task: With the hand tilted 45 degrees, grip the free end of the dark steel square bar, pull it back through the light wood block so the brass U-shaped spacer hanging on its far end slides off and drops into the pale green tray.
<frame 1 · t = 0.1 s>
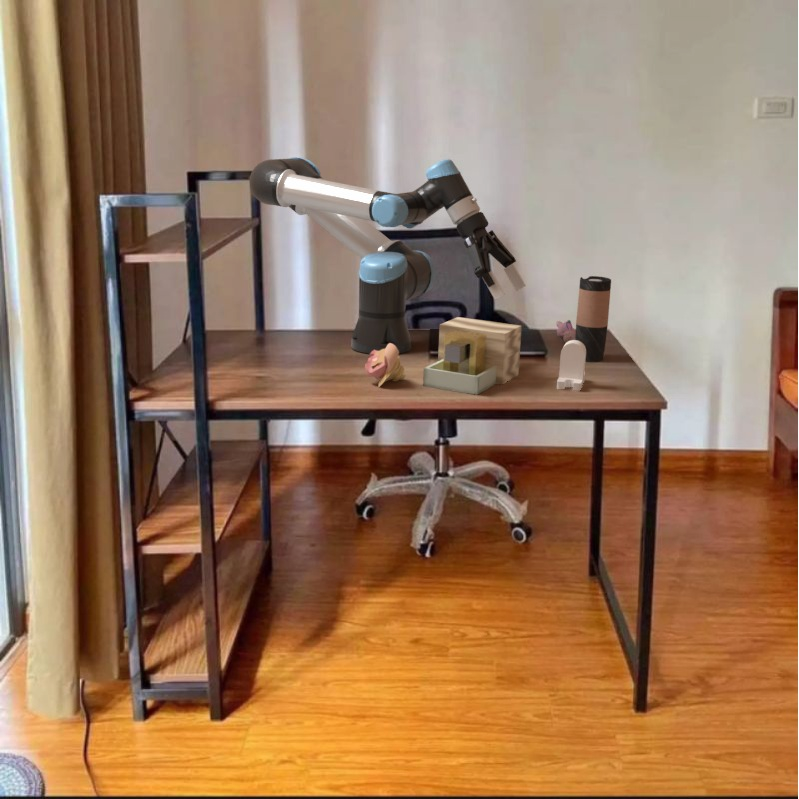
hand: (510, 292, 252), 15 cm above the table, tool tilted 35°, fingers open, 13 cm apart
travel mug: (588, 359, 253), on the table
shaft: (478, 341, 232), point 8 cm above the table, slide at 0.0 cm, touching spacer
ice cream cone: (383, 383, 226), on the table
rabbit figure: (566, 339, 274), on the table
white phone stand: (570, 385, 229), on the table
tray: (459, 384, 226), on the table
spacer: (463, 375, 227), point 2 cm above the table, touching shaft
light wood block: (478, 374, 235), on the table
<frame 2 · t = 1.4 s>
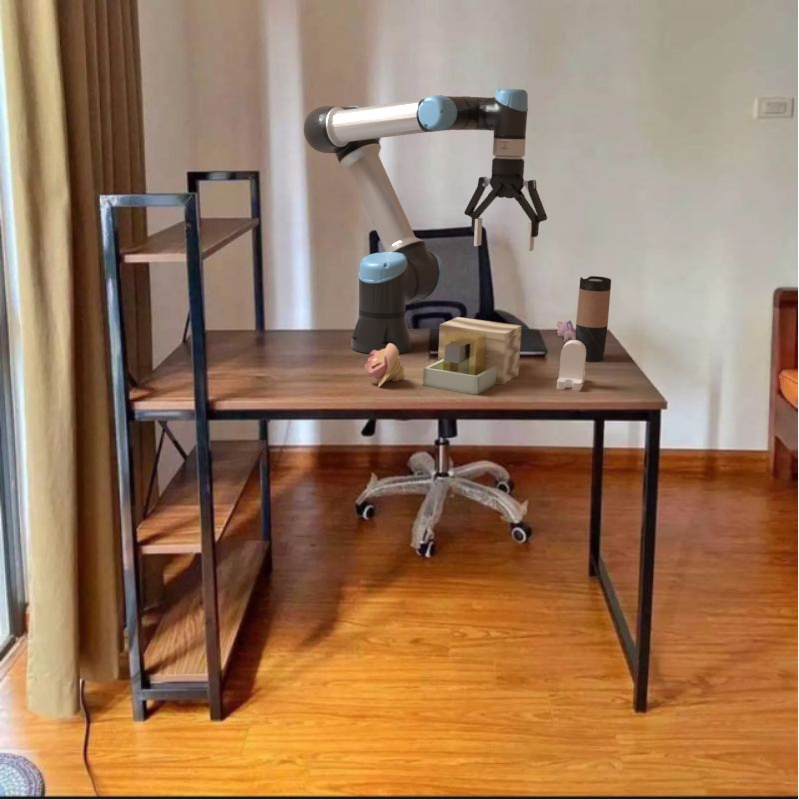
hand: (503, 248, 245), 27 cm above the table, tool pointing down, fingers open, 13 cm apart
nothing on the table moved.
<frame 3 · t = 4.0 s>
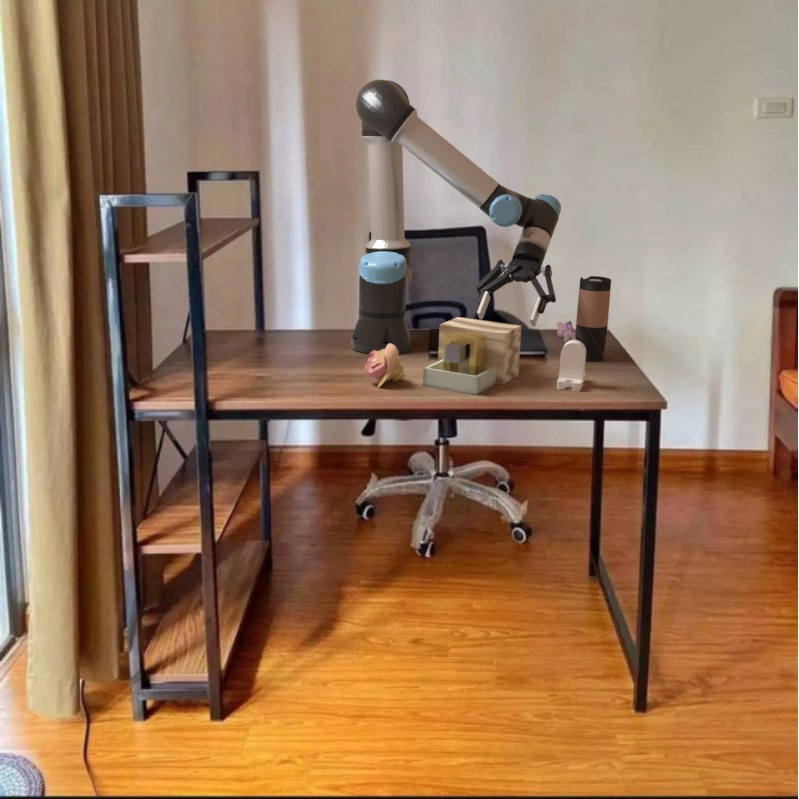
hand: (505, 319, 245), 10 cm above the table, tool tilted 45°, fingers open, 13 cm apart
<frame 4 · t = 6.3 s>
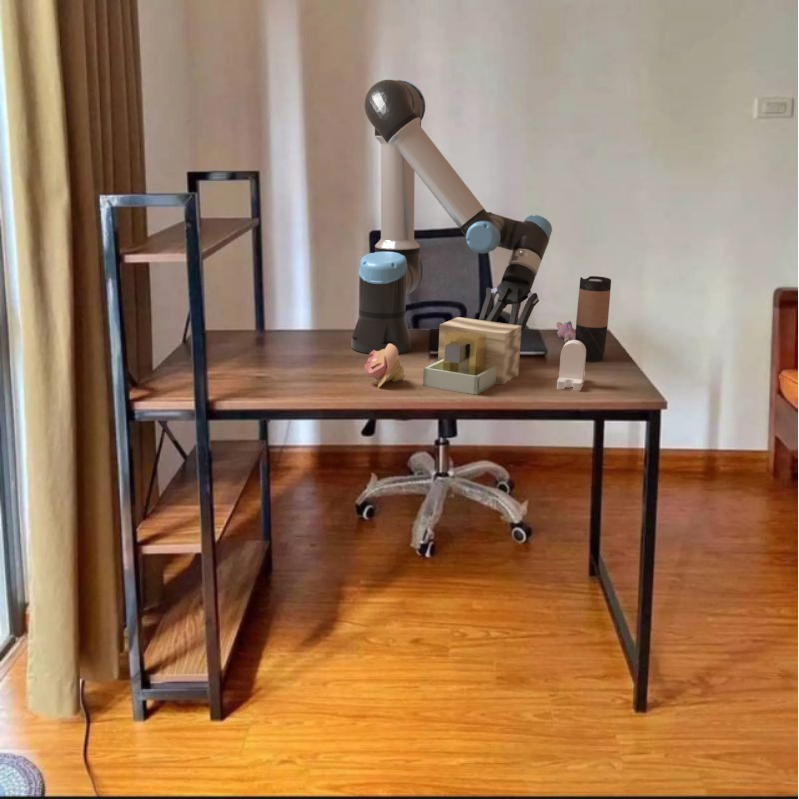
hand: (491, 350, 240), 4 cm above the table, tool tilted 45°, fingers closed on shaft, 3 cm apart
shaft: (478, 341, 232), point 8 cm above the table, slide at 0.0 cm, touching gripper, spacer
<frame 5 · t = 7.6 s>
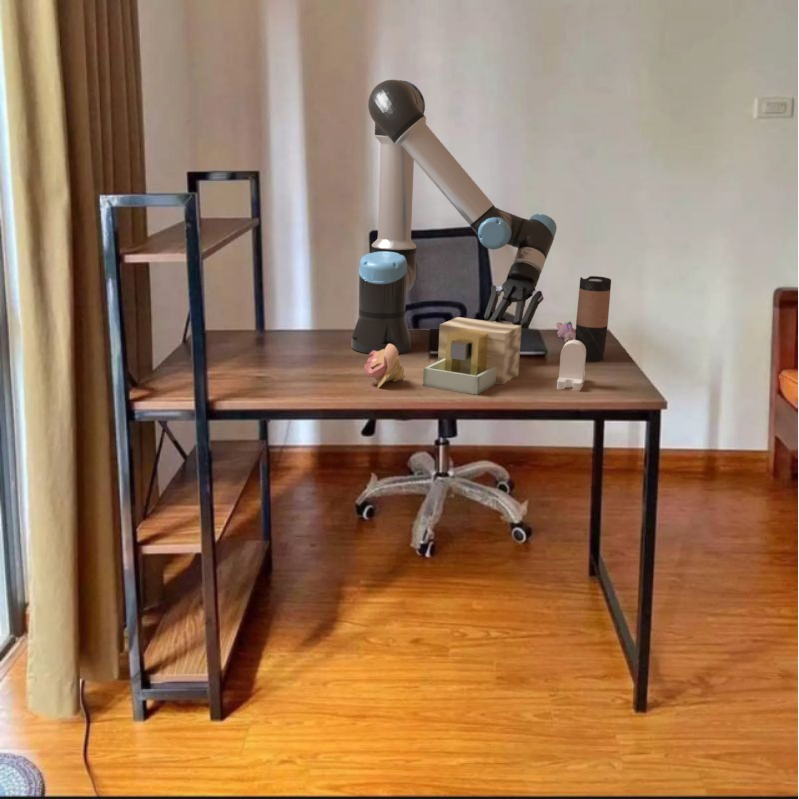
hand: (495, 348, 243), 4 cm above the table, tool tilted 45°, fingers closed on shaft, 4 cm apart
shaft: (483, 339, 234), point 8 cm above the table, slide at 2.9 cm, touching gripper
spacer: (465, 374, 228), point 2 cm above the table
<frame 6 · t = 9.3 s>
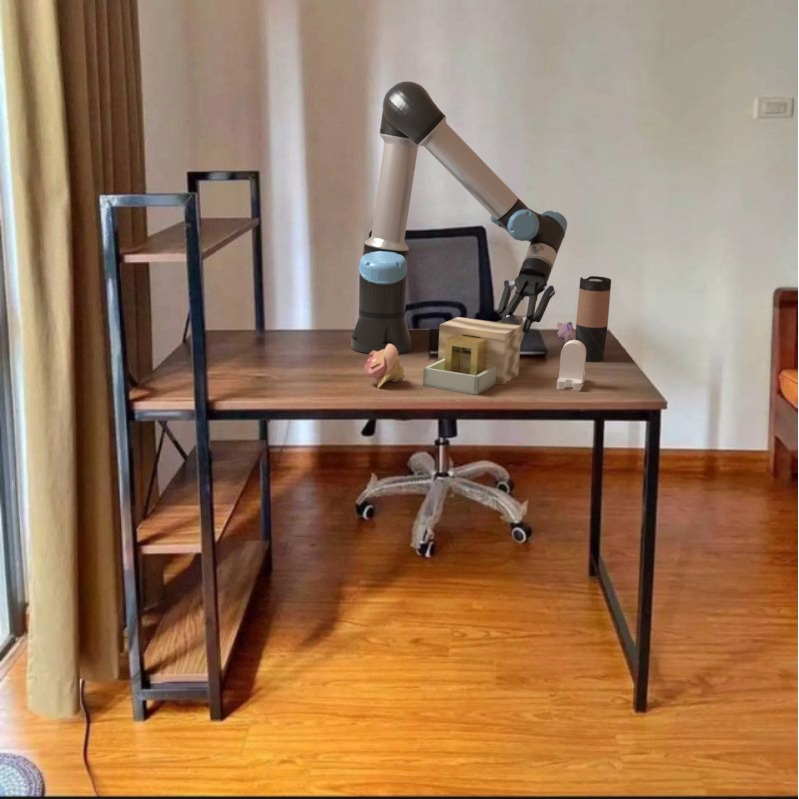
hand: (509, 340, 250), 4 cm above the table, tool tilted 45°, fingers closed on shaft, 3 cm apart
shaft: (496, 332, 241), point 8 cm above the table, slide at 11.0 cm, touching gripper
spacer: (464, 379, 228), point 1 cm above the table, touching tray
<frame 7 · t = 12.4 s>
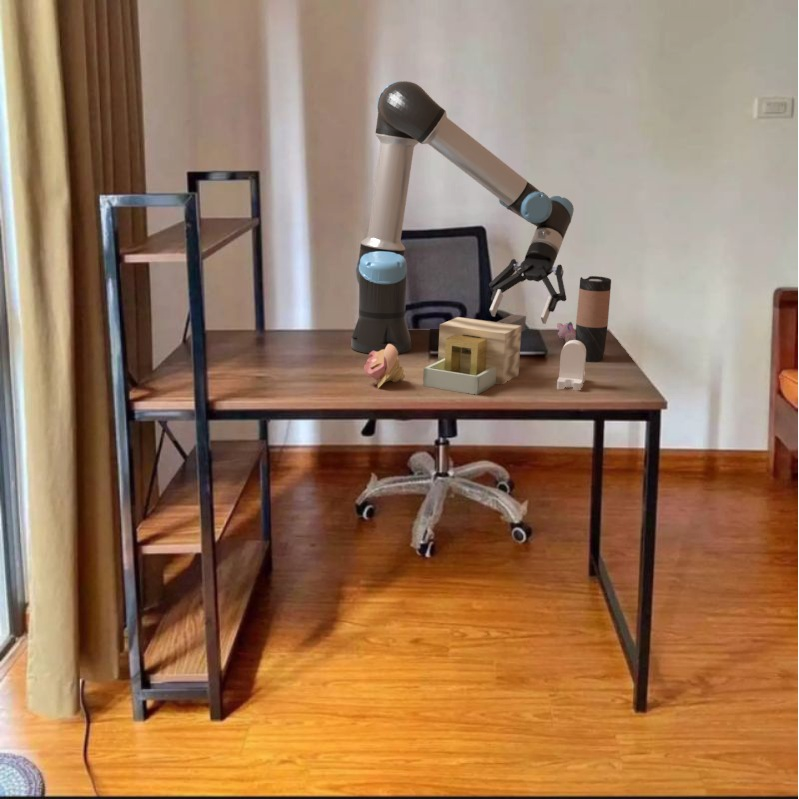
hand: (517, 317, 253), 9 cm above the table, tool tilted 45°, fingers open, 13 cm apart
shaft: (497, 332, 242), point 8 cm above the table, slide at 11.5 cm
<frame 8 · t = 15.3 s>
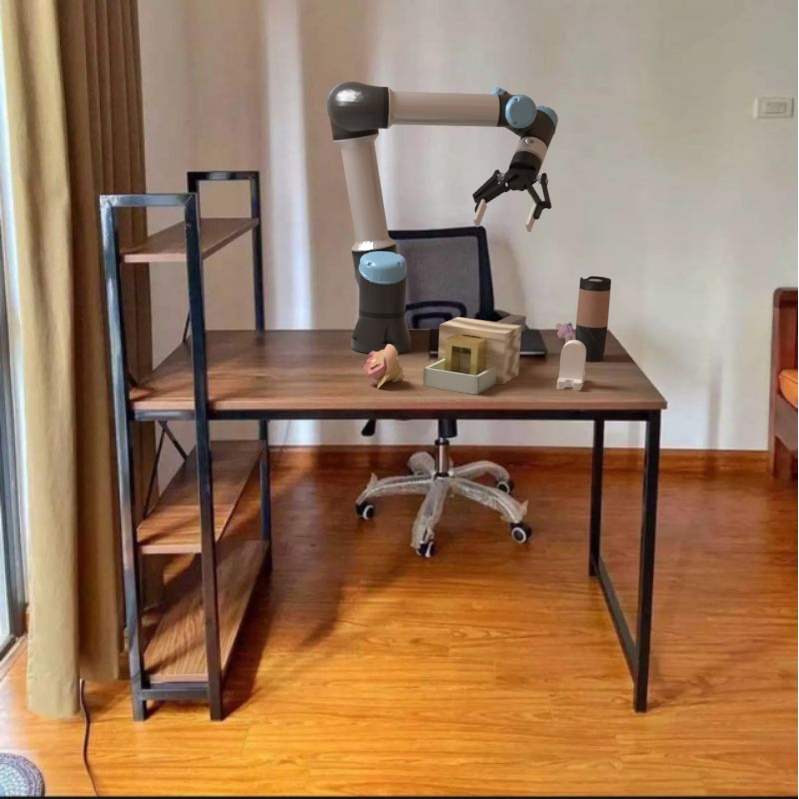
hand: (501, 225, 247), 32 cm above the table, tool tilted 45°, fingers open, 13 cm apart
at the end: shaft slide at 11.5 cm; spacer inside the target area on the tray (2.1 cm from its centre), point 0.6 cm above the tray's base; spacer touching tray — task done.
